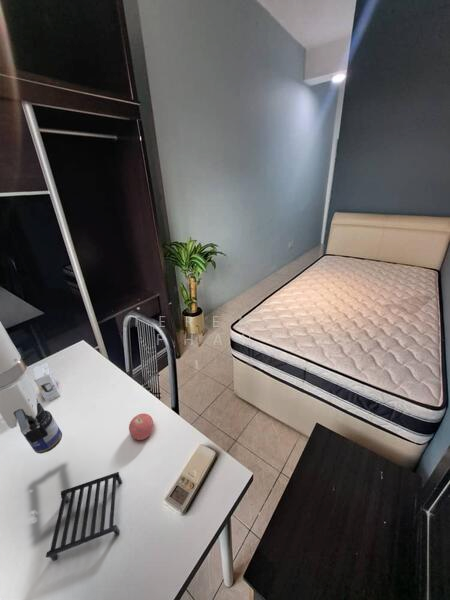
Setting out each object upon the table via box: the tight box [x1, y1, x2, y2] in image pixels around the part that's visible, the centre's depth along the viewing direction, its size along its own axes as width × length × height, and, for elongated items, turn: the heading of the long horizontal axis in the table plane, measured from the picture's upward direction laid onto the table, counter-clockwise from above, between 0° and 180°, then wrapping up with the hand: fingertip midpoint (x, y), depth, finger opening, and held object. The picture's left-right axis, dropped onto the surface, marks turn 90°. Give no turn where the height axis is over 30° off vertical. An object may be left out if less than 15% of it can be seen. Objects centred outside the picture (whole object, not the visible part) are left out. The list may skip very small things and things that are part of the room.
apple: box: [128, 413, 154, 441], centre depth 79 cm, size 7×7×8 cm
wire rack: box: [45, 471, 123, 562], centre depth 61 cm, size 14×13×5 cm
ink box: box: [32, 362, 61, 403], centre depth 96 cm, size 9×5×12 cm, turn 37°
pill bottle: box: [19, 404, 63, 455], centre depth 59 cm, size 6×6×11 cm
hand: (39, 427), depth 59 cm, fingers closed on pill bottle, 6 cm apart
